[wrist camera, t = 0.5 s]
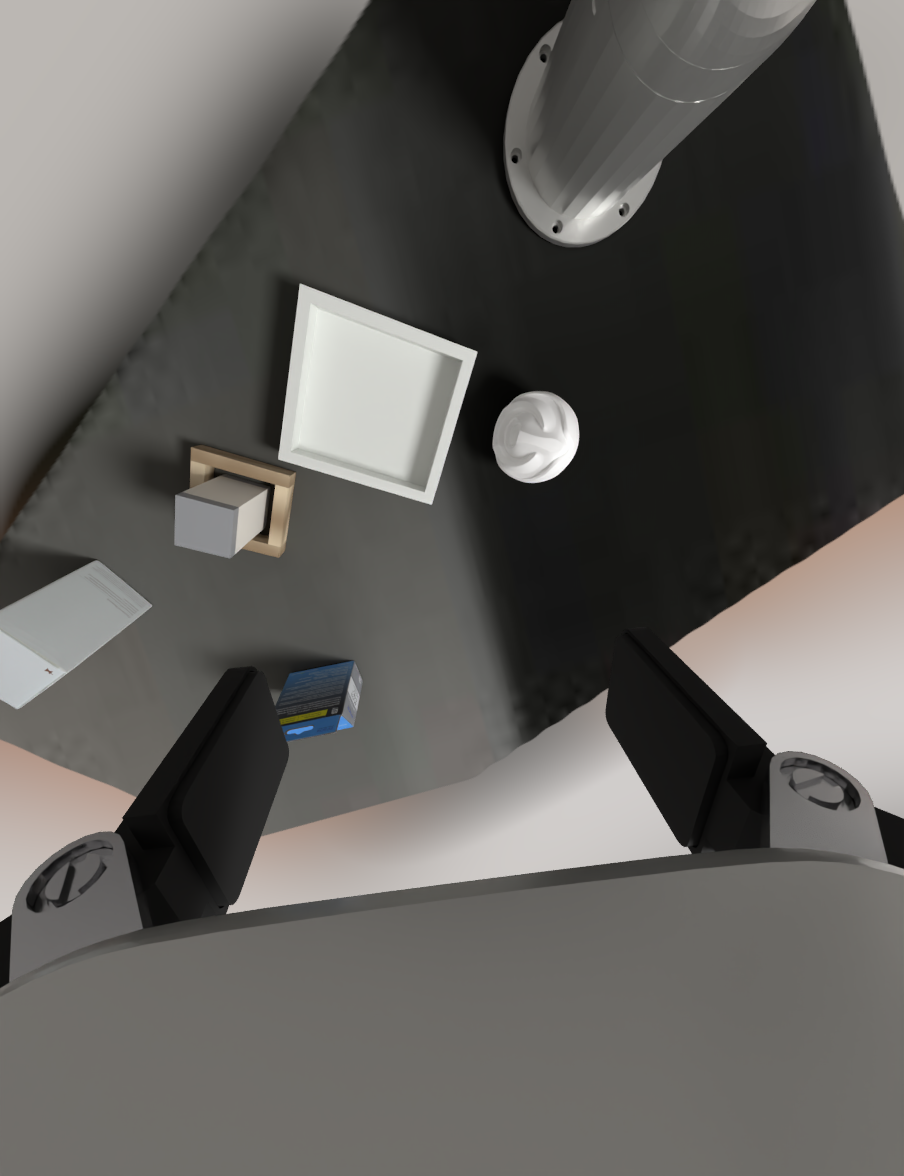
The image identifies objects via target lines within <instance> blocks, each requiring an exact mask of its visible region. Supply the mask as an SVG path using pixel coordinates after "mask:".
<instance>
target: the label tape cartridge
mask: <svg viewBox="0 0 904 1176" xmlns="http://www.w3.org/2000/svg"><path fill="white" fill-rule="evenodd" d="M362 682H363V680H362V678H361V675H360V673H359V671H358V668H357V666H356V664H355V661H350V662H344V663H339V664H334V665H329V666H324V667H319V668H314V669H309V670H304V671H299V672H294V673H290V674H289V676H288V678H287V681H286V683H285V685H284V687H283V690H282V692H281V694H280V696H279V699H278V701H277V703H276V706H275V708H276V711H277V714H278V717H279V720H280V723H281V726H282V729H283V732H284V735H285V738H286V741H287V742H291V741H296V740H301V739H306V738H311V737H316V736H321V735H326V734H333V733H336V732H337V730H340V729H345V728H350V727H353V726H354V723H355V718H356V712H357V707H358V702H359V697H360V692H361V687H362Z"/></svg>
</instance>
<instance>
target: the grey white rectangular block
mask: <svg viewBox="0 0 904 1176" xmlns="http://www.w3.org/2000/svg"><path fill="white" fill-rule="evenodd" d="M270 490H271V487H270V486H266V485H263V484H259V483H255V482H252V481H248V480H245V479H241V478H238V477H234V476H231V475H227V474H223V475H221V476H219V477H216V478H214V479H212V480H209V481H207V482H204V483H202V484H200V485H197V486H195V487H193V488H190V489H188V490H186V491H183V492H181V493H179V494H176V495H175V545H177V546H181V547H185V548H189V549H193V550H198V551H202V552H206V553H210V554H214V555H218V556H222V557H226V558H231V557H232V556H233V555H235V554H236V553H237V552H238V551H239V550H240V549H241V548H243V547H244V546H245V545H246V544H247V543H248V542H249V541H250V540H252V539H253V538H254V537H255V536H256V535H257V534H258V533H260V532H261V531H262V530H263V529H264V528H265V527H266V523H267V515H268V506H269V498H270Z"/></svg>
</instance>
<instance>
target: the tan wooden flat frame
mask: <svg viewBox="0 0 904 1176" xmlns="http://www.w3.org/2000/svg"><path fill="white" fill-rule="evenodd" d="M214 467H215V468H219V469H222V470H226V471H229V472H233V473H236V474H240V475H243V476H247V477H251V478H254V479H258V480H261V481H265V482H268V483H272V484H275V492H274V500H273V508H272V516H271V525H270V533H269V536H266V535H262V534H257V535H256V536H255V537H254V538H253V539H252V540H250V541H249V542H248V543H247V544H246V545H245V546H244V547H243V548H242V549H246V550H250V551H254V552H258V553H262V554H266V555H270V556H274V557H278V558H279V557H280V556H281V555H282V553H283V552H284V551H285V545H286V538H287V531H288V524H289V517H290V510H291V503H292V497H293V490H294V483H295V476H296V472H294V471H290V470H287V469H283V468H280V467H276V466H273V465H270V464H266V463H263V462H259V461H256V460H253V459H249V458H246V457H242V456H239V455H235V454H232V453H229V452H225V451H222V450H218V449H215V448H212V447H208V446H205V445H198V446H194V447H191V467H190V488H193V487H195V486H197V485H200V484H202V483H204V482H207V481H209V480H212V479H214Z"/></svg>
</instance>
